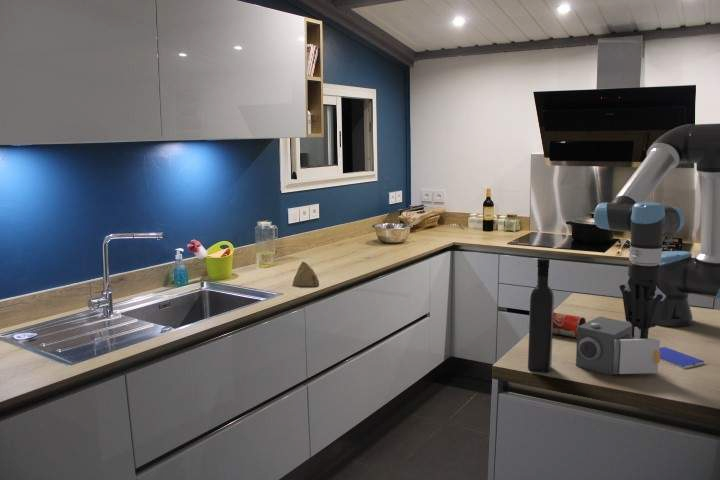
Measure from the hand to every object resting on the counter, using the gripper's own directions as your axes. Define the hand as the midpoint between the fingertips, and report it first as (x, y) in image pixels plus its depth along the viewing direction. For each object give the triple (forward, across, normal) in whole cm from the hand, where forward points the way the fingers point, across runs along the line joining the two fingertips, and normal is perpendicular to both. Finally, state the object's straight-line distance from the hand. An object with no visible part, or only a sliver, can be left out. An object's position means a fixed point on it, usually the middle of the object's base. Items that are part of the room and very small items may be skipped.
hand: (638, 350), depth 163 cm
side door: (+5, +2, -4) cm, 6 cm away
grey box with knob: (+6, -8, -3) cm, 10 cm away
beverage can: (+6, -32, +5) cm, 33 cm away
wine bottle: (+6, -14, -21) cm, 26 cm away
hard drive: (+6, -1, +16) cm, 18 cm away
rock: (+6, -131, -41) cm, 138 cm away
